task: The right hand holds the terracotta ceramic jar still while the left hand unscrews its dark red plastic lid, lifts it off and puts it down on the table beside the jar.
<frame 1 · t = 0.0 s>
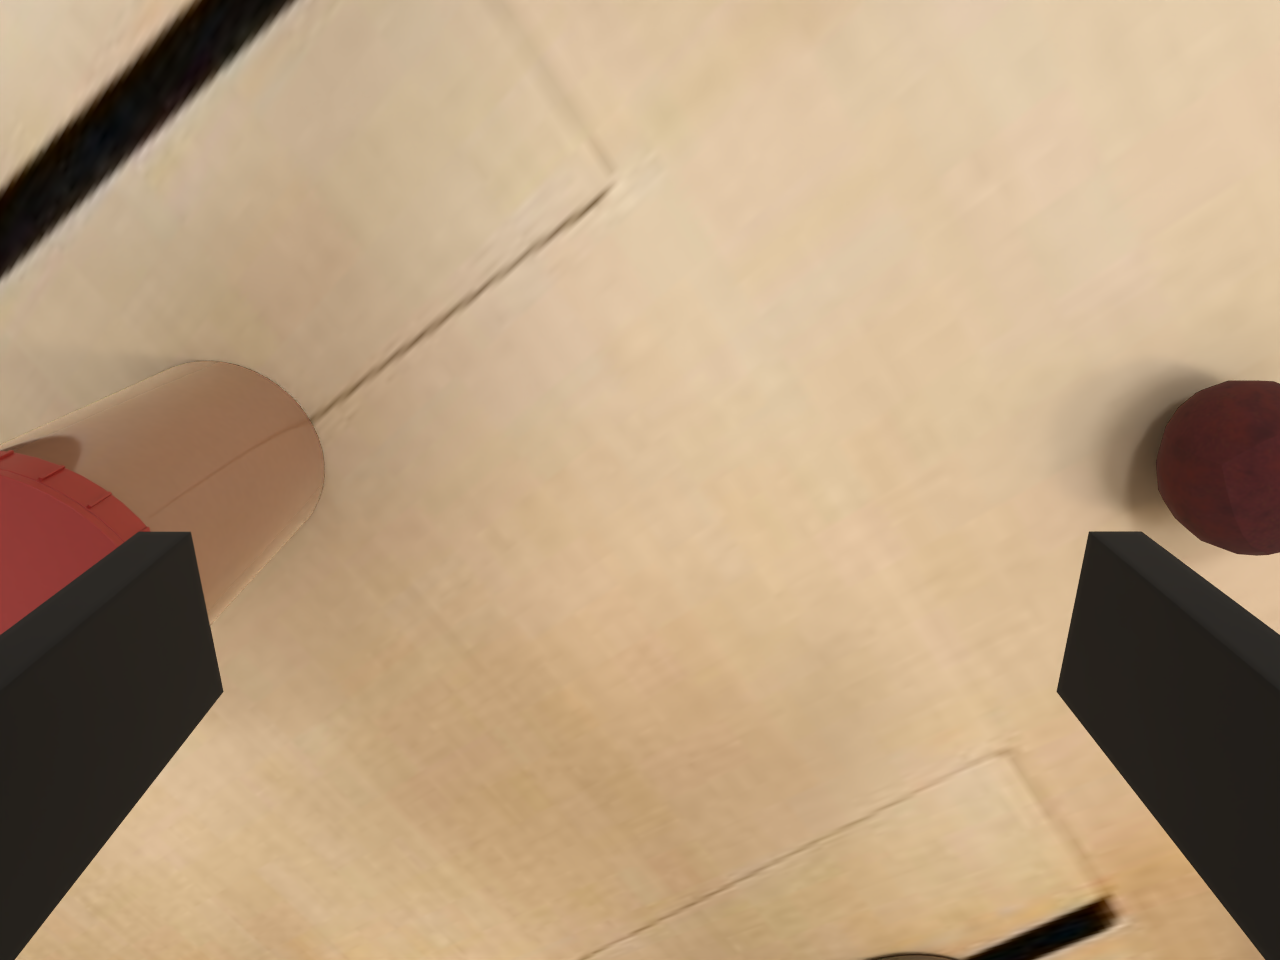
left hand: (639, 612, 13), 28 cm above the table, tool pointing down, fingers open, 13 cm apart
maroon round ball: (1199, 439, 41), on the table
jar: (224, 458, 42), on the table
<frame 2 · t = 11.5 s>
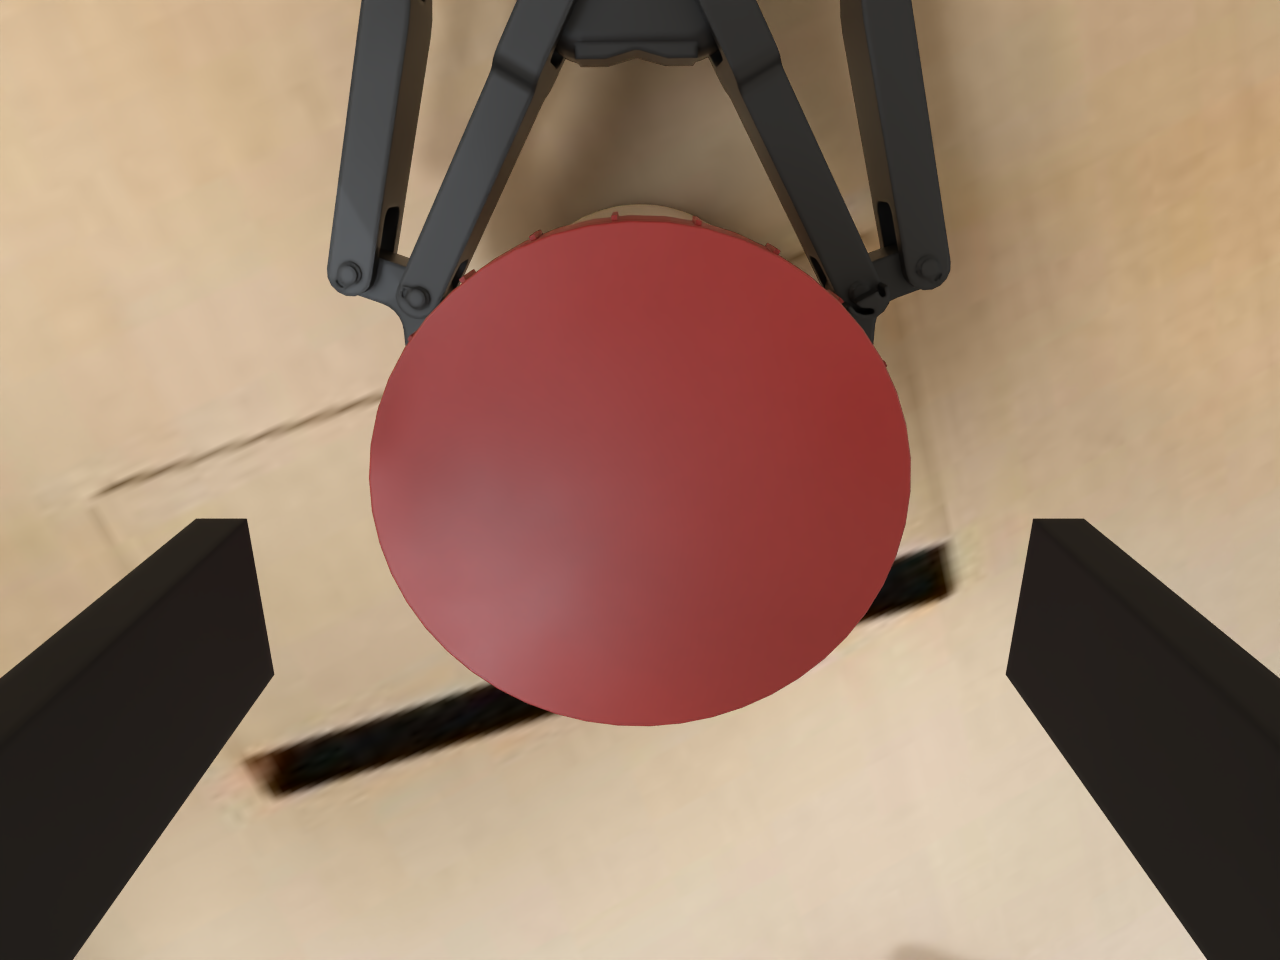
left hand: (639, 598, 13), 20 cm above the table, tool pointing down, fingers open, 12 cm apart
jar: (639, 339, 32), on the table, touching right hand
lid: (640, 495, 17), point 16 cm above the table, screwed on, not yet turned
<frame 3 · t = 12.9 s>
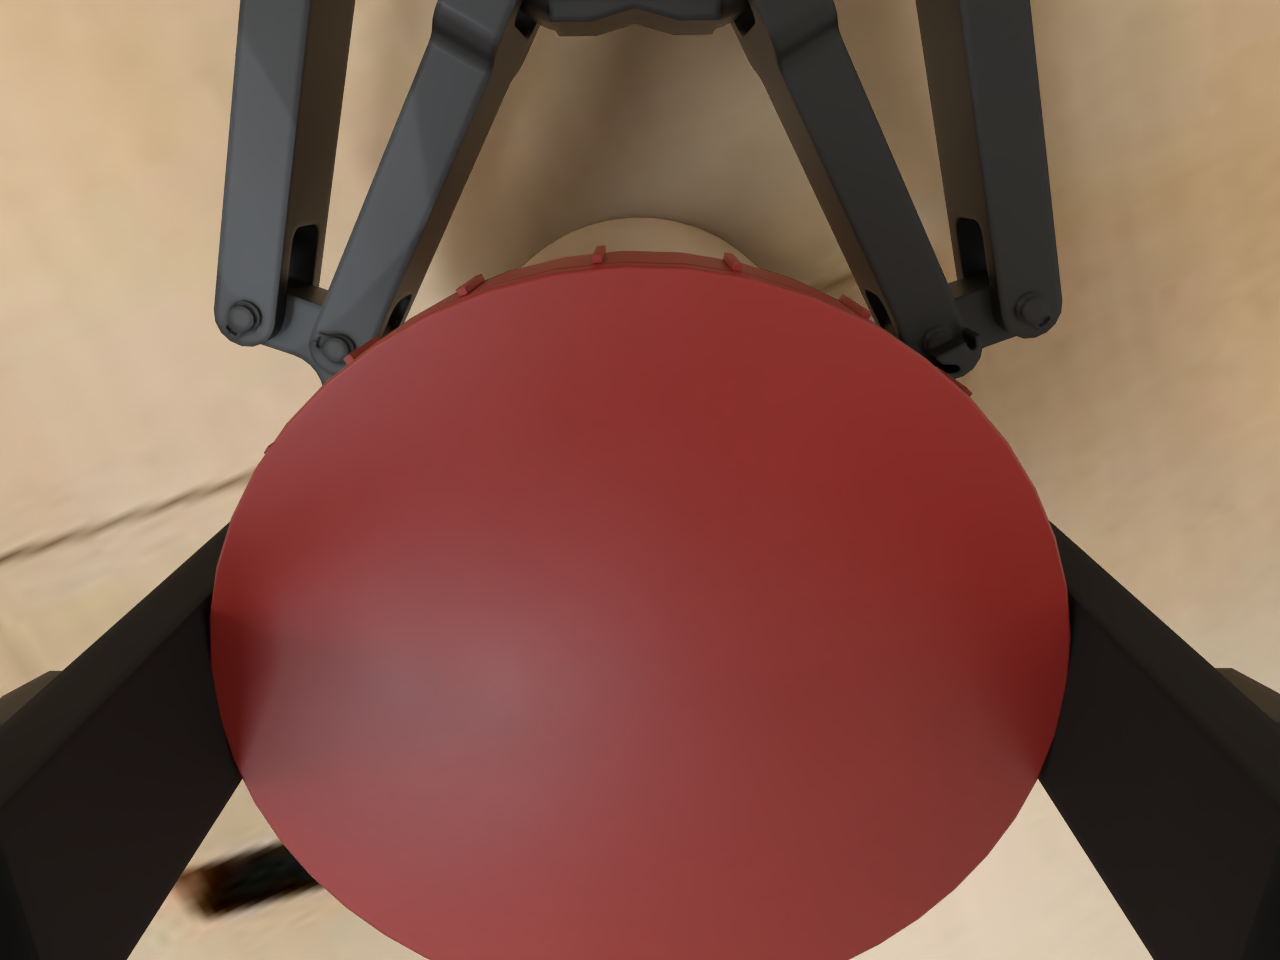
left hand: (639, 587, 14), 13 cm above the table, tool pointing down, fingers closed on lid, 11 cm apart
jar: (639, 384, 26), on the table, touching right hand
lid: (640, 685, 11), point 16 cm above the table, screwed on, not yet turned, touching left hand
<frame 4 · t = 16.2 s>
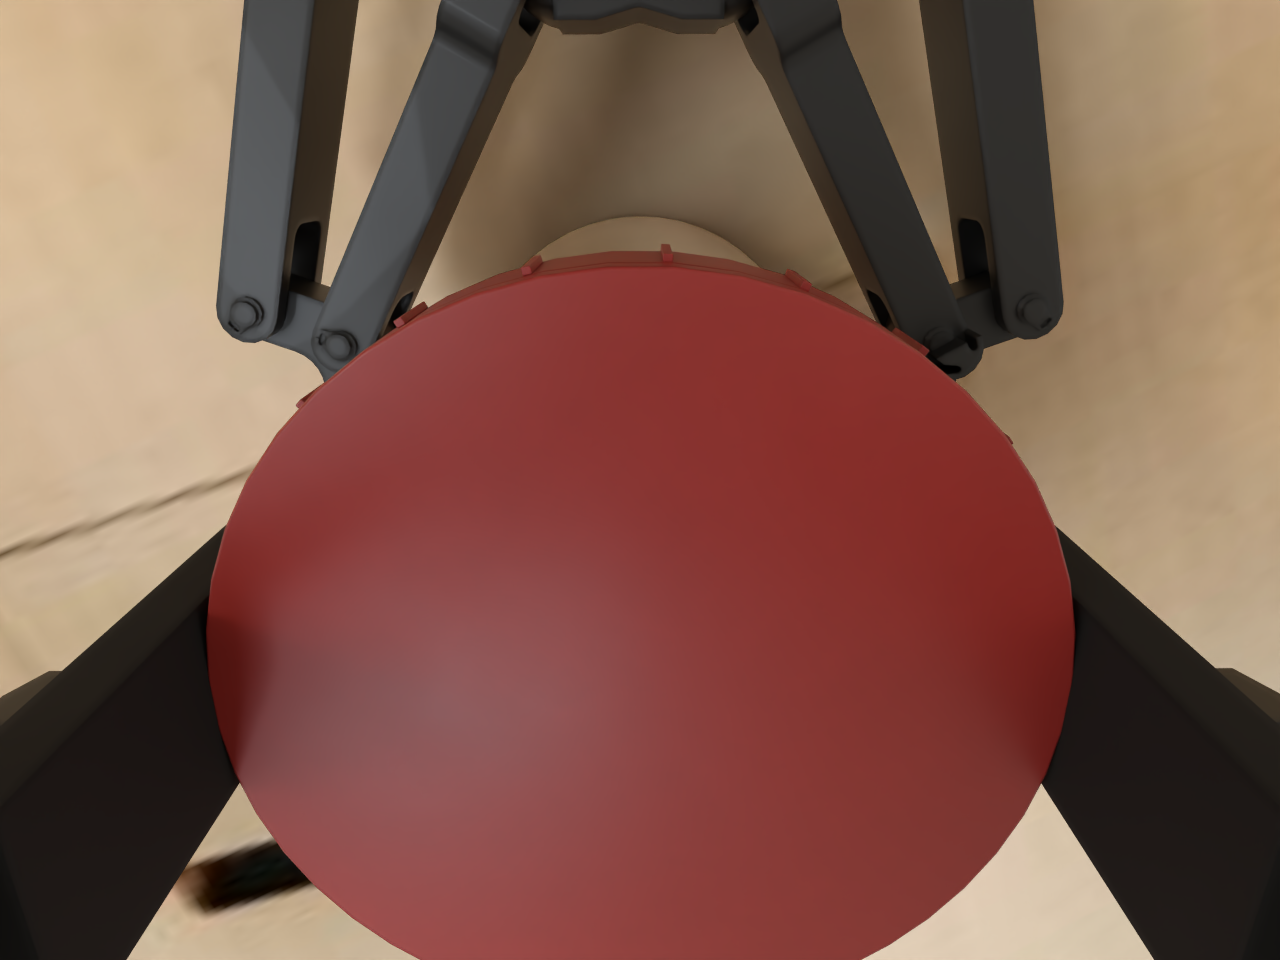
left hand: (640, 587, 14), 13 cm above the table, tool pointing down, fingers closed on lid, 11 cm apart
jar: (640, 383, 26), on the table, touching right hand
lid: (640, 689, 11), point 16 cm above the table, turned 107° so far, risen 0.1 cm, still on its thread, touching left hand
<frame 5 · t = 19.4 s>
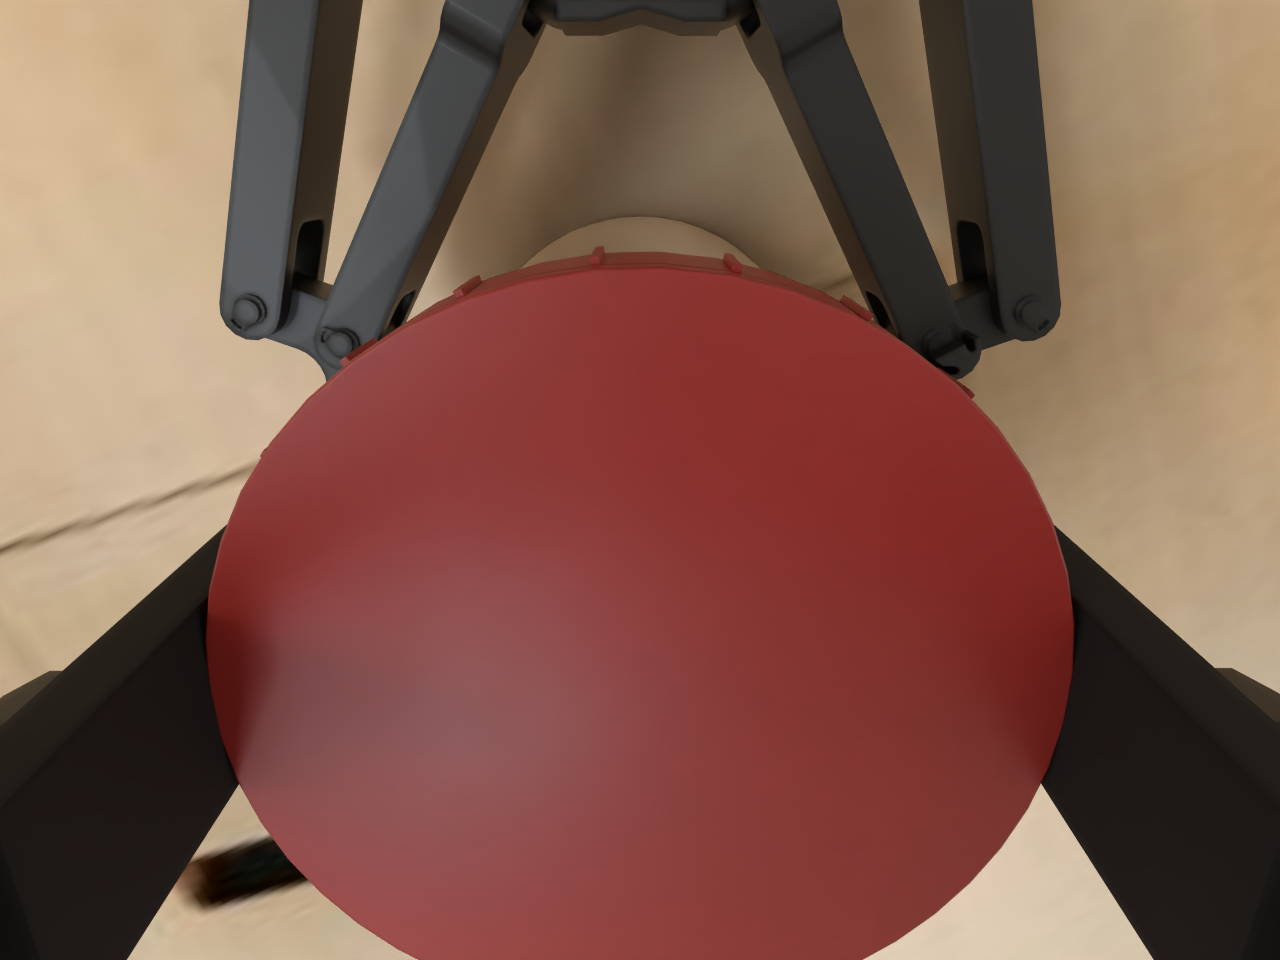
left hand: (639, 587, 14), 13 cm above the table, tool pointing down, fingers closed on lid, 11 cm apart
jar: (640, 382, 26), on the table, touching right hand
lid: (639, 689, 11), point 16 cm above the table, turned 214° so far, risen 0.2 cm, still on its thread, touching left hand
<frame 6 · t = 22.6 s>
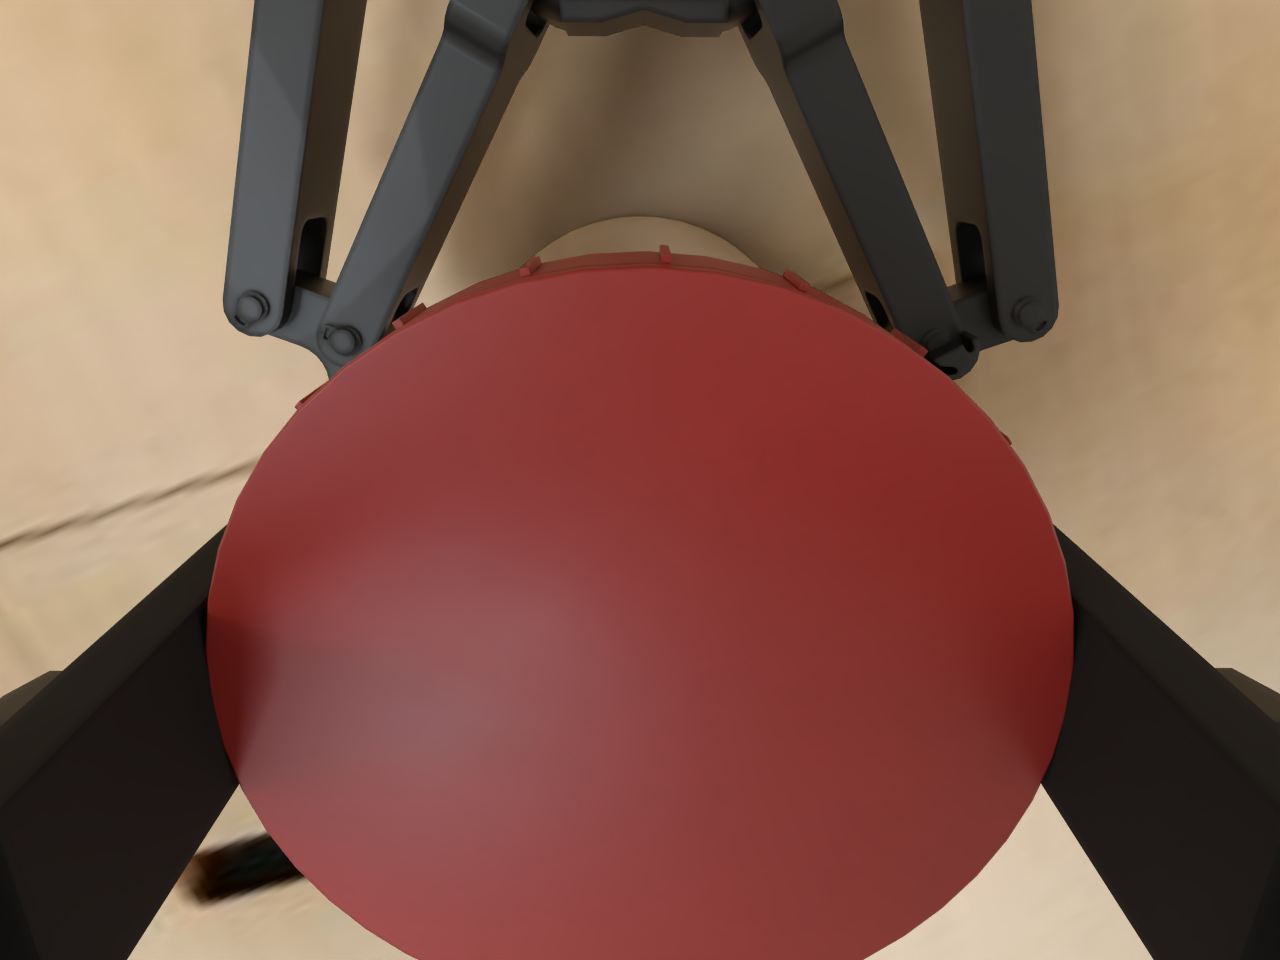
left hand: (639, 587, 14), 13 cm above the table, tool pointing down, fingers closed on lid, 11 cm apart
jar: (640, 381, 26), on the table, touching right hand
lid: (639, 689, 11), point 16 cm above the table, turned 320° so far, risen 0.4 cm, still on its thread, touching left hand
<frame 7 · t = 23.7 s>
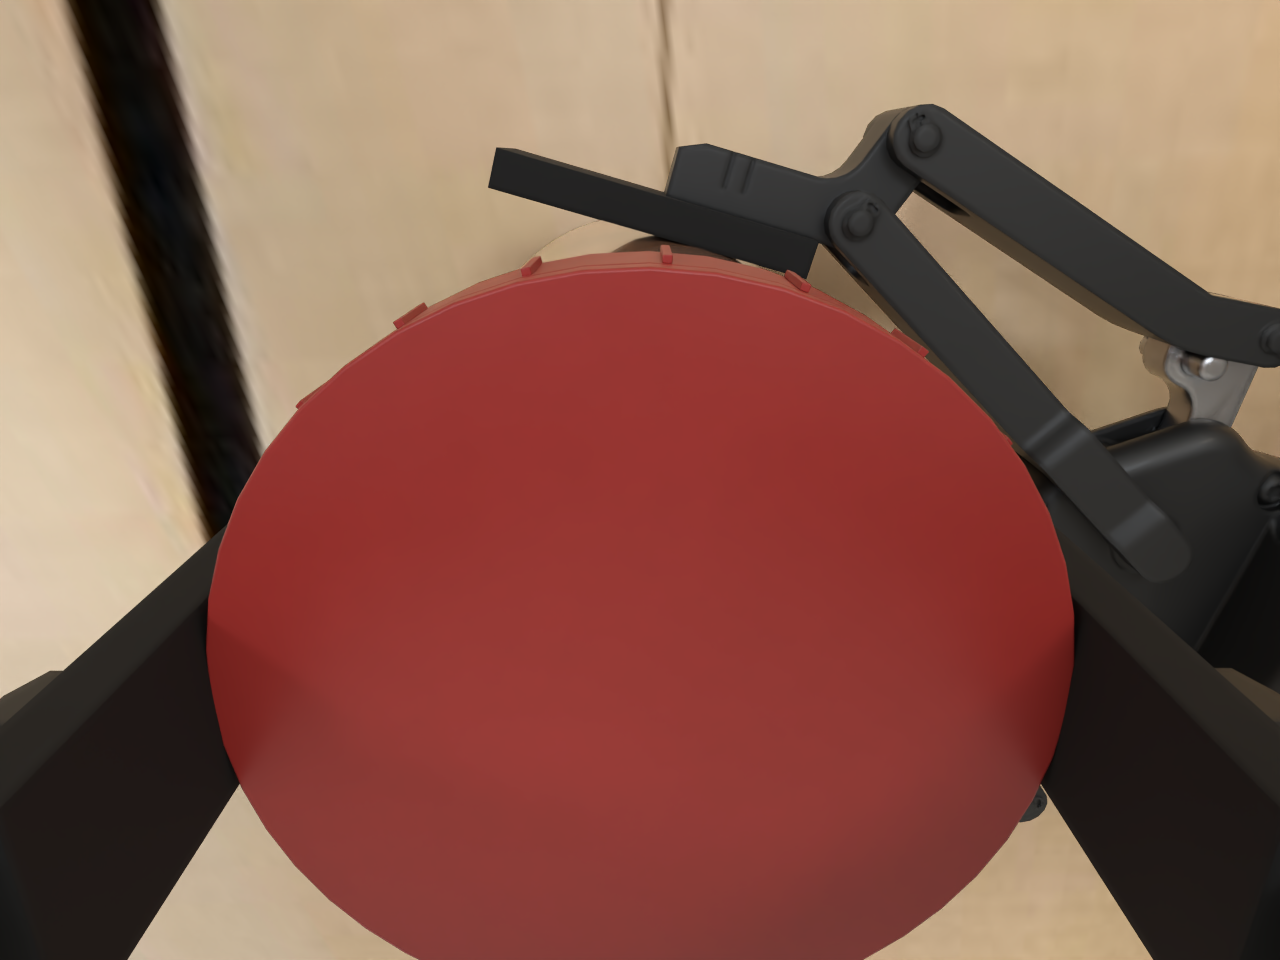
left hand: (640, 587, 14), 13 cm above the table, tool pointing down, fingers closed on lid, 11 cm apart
jar: (640, 380, 26), on the table, touching right hand
lid: (640, 689, 11), point 16 cm above the table, off its thread, touching left hand
when the left hand's fingers open (0 cm above the table, at t = 29.5 s): lid drops 2 cm, point 1 cm above the table.
when the right hand's fingers open (7 cm above the table, at t = 30.5 s): jar stays where it is, on the table.
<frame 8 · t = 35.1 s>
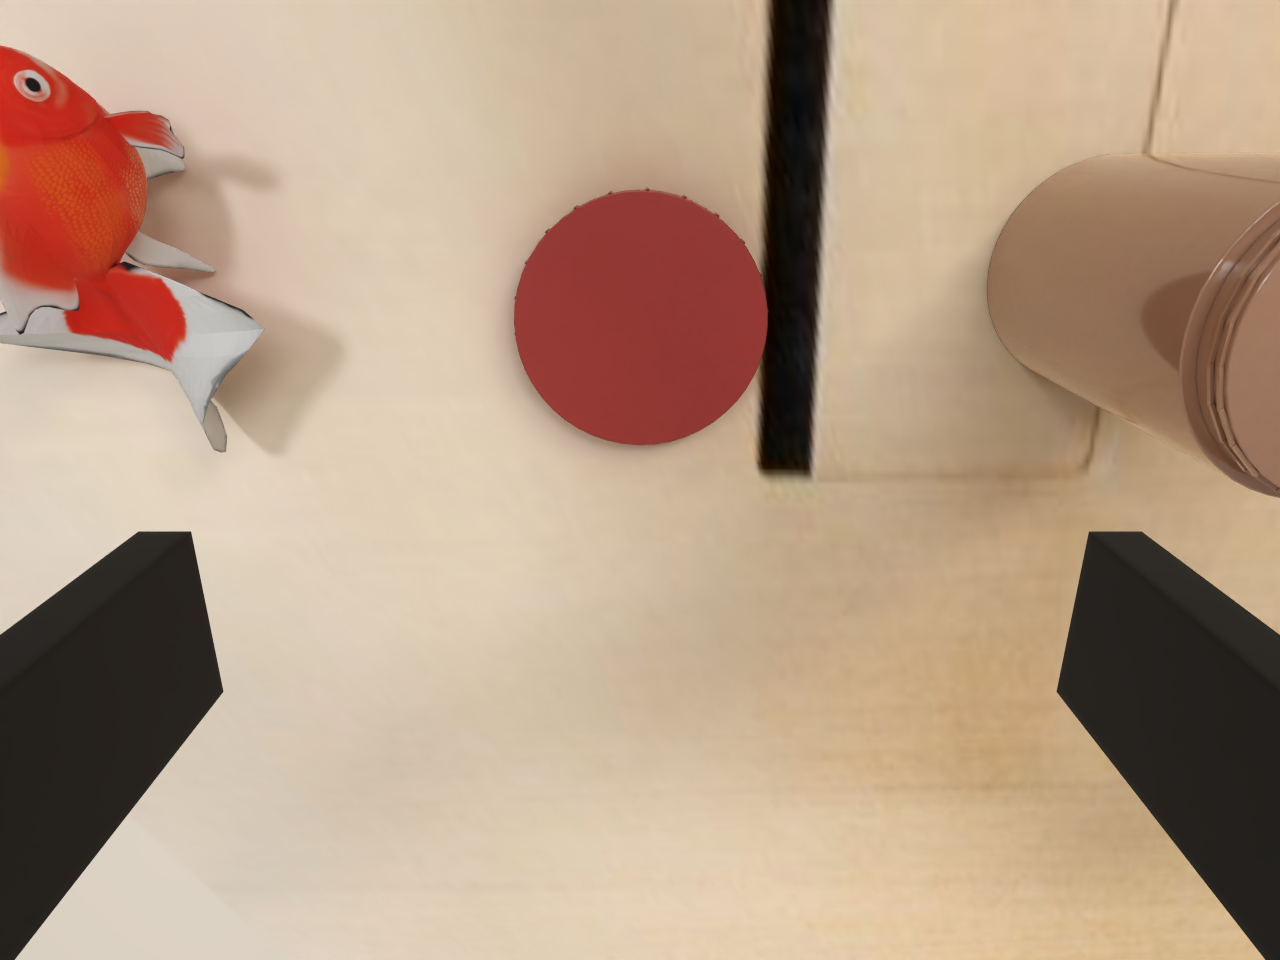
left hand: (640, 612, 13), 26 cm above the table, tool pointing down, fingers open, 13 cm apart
fish: (181, 261, 37), on the table
jar: (1099, 273, 37), on the table
lid: (640, 323, 36), point 1 cm above the table, off its thread
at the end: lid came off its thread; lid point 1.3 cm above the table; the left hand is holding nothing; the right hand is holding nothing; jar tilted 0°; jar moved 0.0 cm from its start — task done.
